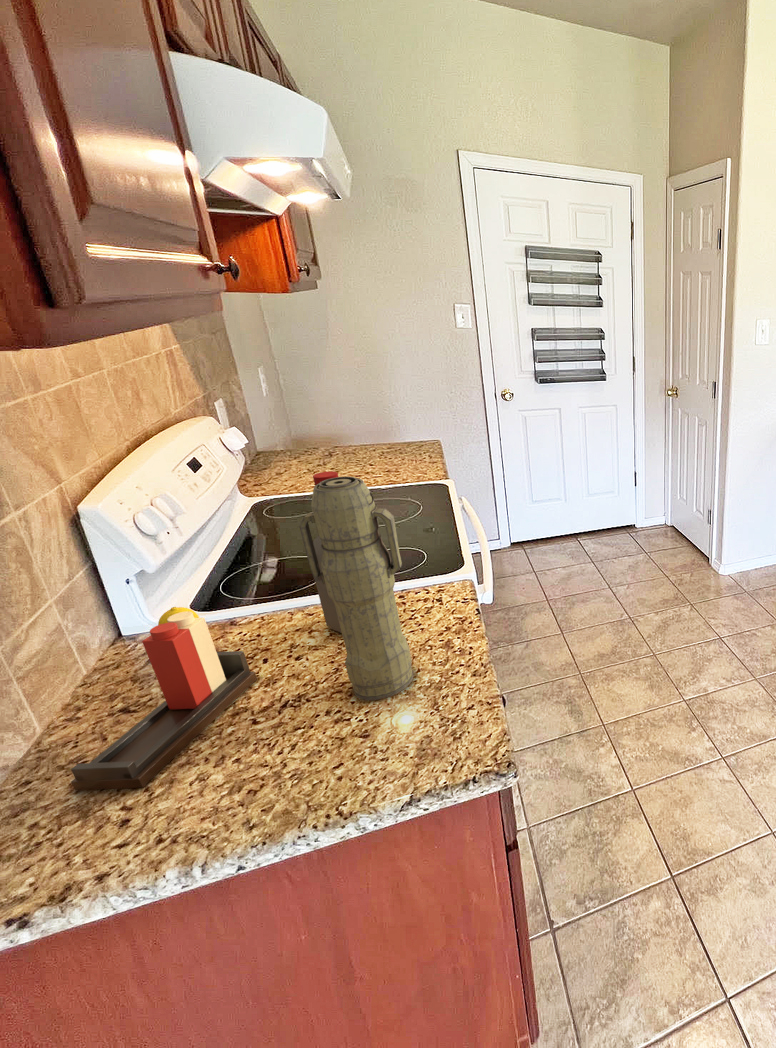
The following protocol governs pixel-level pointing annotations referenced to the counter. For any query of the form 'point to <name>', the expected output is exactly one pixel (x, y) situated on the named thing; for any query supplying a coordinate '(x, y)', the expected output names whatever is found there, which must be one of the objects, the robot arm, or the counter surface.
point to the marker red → (177, 666)
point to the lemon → (174, 611)
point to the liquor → (325, 600)
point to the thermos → (360, 584)
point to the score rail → (162, 735)
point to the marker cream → (202, 646)
